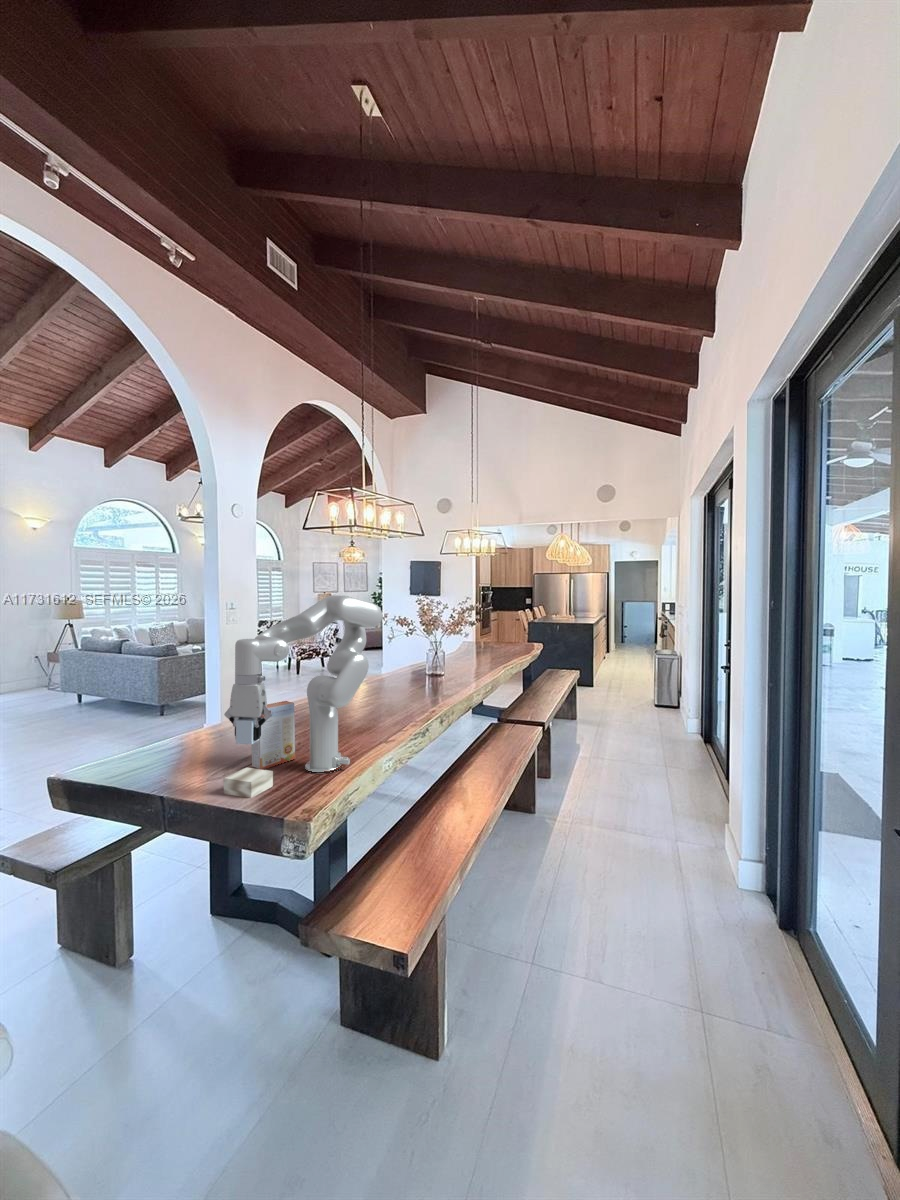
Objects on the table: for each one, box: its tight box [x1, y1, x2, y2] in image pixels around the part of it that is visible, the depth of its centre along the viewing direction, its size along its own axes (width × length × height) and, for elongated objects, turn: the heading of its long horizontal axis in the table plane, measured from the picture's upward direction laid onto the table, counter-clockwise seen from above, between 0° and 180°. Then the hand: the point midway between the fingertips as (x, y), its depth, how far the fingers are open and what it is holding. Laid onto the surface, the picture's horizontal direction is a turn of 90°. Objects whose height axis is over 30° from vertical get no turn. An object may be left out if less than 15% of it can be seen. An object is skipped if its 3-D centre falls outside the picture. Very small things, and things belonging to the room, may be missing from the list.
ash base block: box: [223, 767, 274, 799], centre depth 164 cm, size 10×10×5 cm
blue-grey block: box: [235, 717, 259, 745], centre depth 163 cm, size 5×5×7 cm
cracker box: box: [251, 700, 296, 770], centre depth 188 cm, size 14×6×21 cm, turn 141°
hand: (247, 738), depth 163 cm, fingers closed on blue-grey block, 5 cm apart
